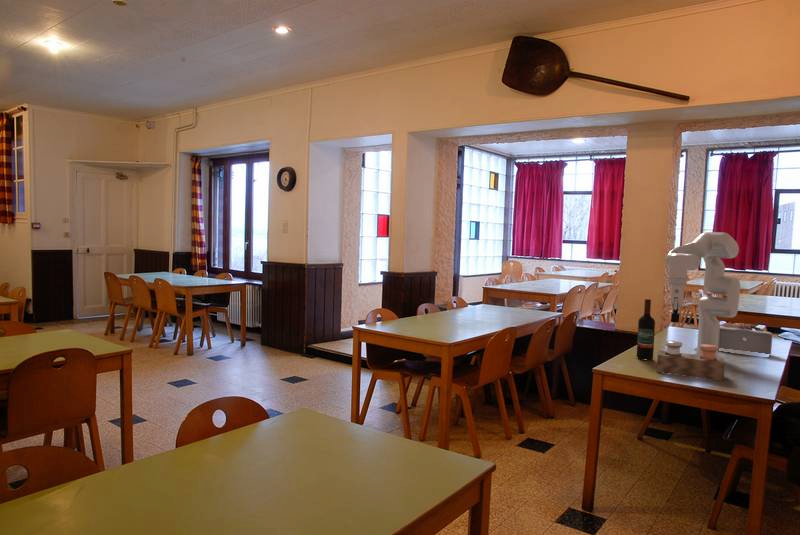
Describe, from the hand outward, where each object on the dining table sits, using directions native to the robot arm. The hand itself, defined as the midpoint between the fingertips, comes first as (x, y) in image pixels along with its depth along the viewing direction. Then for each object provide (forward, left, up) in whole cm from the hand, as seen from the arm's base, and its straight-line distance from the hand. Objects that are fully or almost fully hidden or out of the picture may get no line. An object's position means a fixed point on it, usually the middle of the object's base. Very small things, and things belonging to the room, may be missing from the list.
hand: (675, 321), depth 243 cm
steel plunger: (0, 0, -18) cm, 18 cm away
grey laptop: (-41, +64, -24) cm, 79 cm away
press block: (+4, +6, -23) cm, 24 cm away
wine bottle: (-24, 0, -23) cm, 34 cm away
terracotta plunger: (+8, +12, -18) cm, 23 cm away
